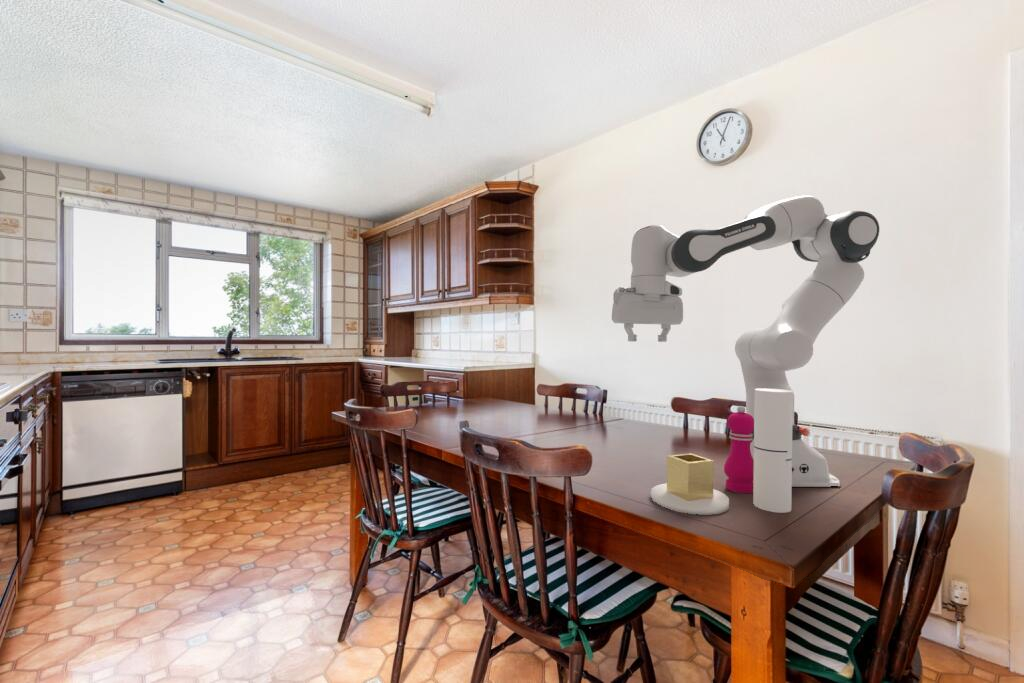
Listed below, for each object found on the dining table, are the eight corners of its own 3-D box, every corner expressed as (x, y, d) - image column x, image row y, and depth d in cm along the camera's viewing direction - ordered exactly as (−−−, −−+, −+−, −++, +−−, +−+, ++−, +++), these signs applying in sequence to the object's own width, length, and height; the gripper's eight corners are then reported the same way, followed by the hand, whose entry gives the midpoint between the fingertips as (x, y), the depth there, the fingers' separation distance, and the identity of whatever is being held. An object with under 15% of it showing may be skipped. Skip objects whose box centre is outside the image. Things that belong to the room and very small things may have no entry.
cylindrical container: (746, 500, 102) (747, 388, 102) (777, 500, 103) (778, 388, 103) (766, 513, 95) (767, 392, 95) (799, 512, 96) (800, 392, 96)
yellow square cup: (666, 491, 104) (667, 455, 104) (690, 488, 106) (691, 453, 106) (688, 501, 97) (688, 463, 97) (713, 497, 100) (713, 460, 100)
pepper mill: (753, 486, 113) (754, 404, 113) (760, 495, 106) (761, 408, 106) (721, 483, 115) (722, 403, 115) (726, 492, 108) (727, 407, 108)
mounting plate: (717, 491, 108) (717, 459, 108) (739, 517, 93) (739, 480, 93) (646, 487, 111) (647, 456, 111) (656, 511, 95) (657, 475, 95)
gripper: (621, 285, 114) (620, 341, 114) (687, 289, 121) (686, 342, 121) (607, 288, 120) (606, 341, 120) (671, 291, 127) (670, 341, 127)
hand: (647, 341), depth 121 cm, fingers open, 8 cm apart
